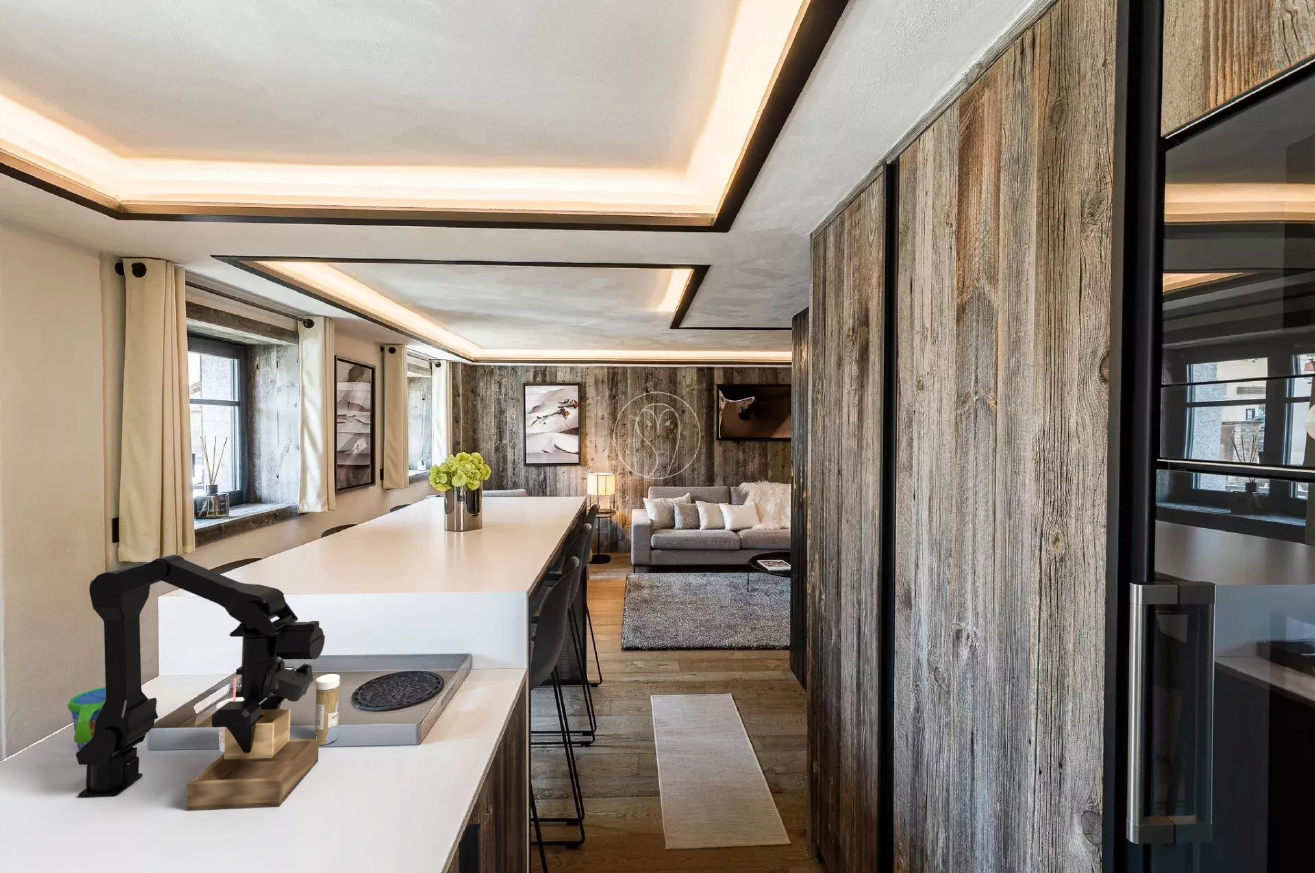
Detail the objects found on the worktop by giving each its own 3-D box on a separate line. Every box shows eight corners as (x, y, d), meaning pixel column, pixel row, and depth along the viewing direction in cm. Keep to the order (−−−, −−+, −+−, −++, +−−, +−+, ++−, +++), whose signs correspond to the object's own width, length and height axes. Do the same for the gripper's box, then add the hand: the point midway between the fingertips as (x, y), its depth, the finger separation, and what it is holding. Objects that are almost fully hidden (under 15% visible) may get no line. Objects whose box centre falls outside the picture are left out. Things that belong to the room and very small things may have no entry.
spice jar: (339, 742, 127) (341, 678, 127) (314, 747, 125) (316, 683, 125) (337, 733, 131) (338, 671, 131) (313, 738, 129) (314, 675, 129)
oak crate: (224, 759, 108) (225, 725, 108) (244, 741, 114) (245, 709, 114) (271, 757, 109) (272, 724, 109) (289, 739, 115) (290, 708, 115)
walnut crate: (186, 810, 103) (187, 784, 103) (237, 763, 118) (238, 740, 118) (279, 806, 105) (280, 780, 105) (318, 761, 120) (318, 738, 120)
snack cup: (98, 727, 132) (100, 681, 132) (154, 723, 134) (155, 677, 134) (43, 765, 116) (44, 712, 116) (107, 760, 119) (108, 708, 119)
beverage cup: (257, 738, 128) (259, 672, 128) (238, 753, 122) (240, 684, 122) (228, 738, 128) (230, 672, 128) (207, 753, 122) (209, 684, 122)
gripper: (280, 677, 103) (277, 768, 103) (327, 641, 122) (325, 718, 122) (211, 678, 102) (208, 770, 102) (269, 642, 121) (267, 720, 120)
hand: (257, 742), depth 112 cm, fingers closed on oak crate, 6 cm apart
